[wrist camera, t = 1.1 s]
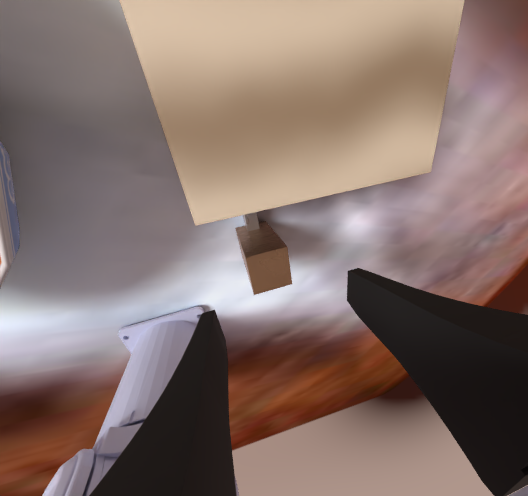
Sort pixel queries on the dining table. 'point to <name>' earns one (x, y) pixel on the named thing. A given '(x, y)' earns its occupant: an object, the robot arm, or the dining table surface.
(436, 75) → the tan slab
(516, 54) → the dining table surface
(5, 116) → the dining table surface
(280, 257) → the wood grain brick
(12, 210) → the ramen bowl
